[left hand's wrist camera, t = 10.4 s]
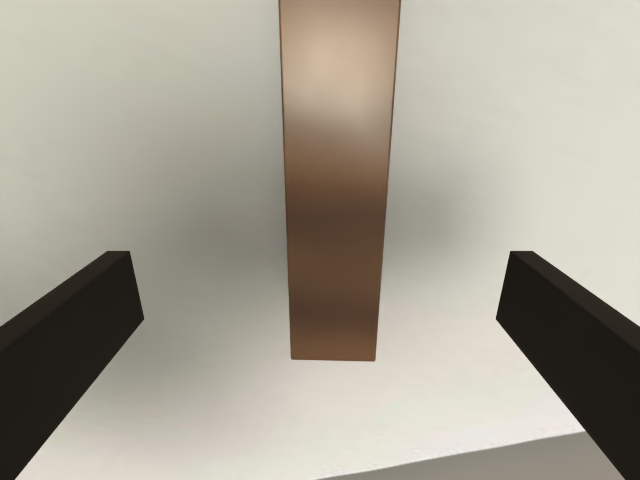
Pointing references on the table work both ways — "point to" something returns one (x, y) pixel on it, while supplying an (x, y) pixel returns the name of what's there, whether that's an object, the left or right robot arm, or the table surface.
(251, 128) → the table surface
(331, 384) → the table surface
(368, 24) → the beam
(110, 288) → the left robot arm
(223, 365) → the table surface
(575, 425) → the table surface
